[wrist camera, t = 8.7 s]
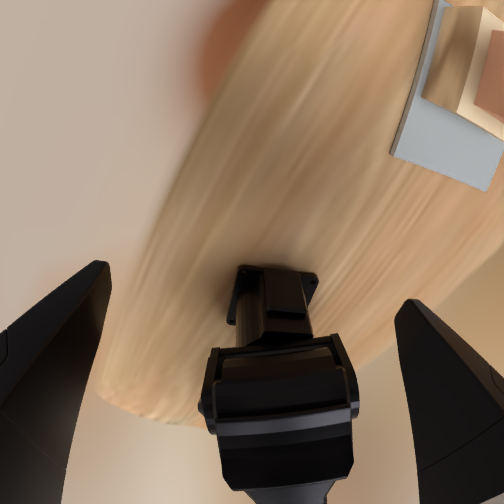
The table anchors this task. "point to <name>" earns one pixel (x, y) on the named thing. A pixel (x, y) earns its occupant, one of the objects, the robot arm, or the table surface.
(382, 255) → the table surface
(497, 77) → the top brick
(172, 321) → the table surface
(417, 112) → the build plate
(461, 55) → the base brick
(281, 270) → the robot arm
